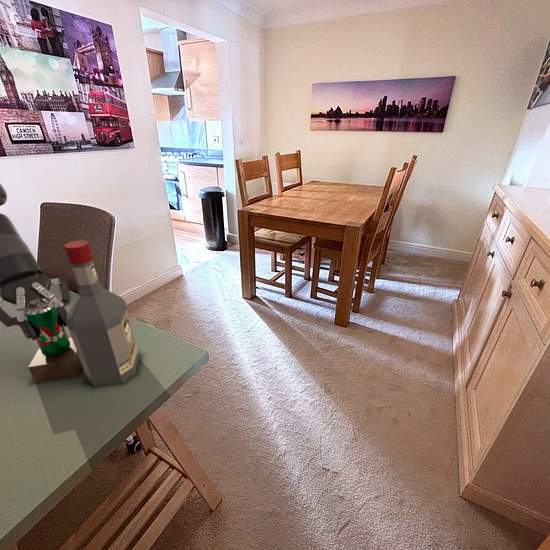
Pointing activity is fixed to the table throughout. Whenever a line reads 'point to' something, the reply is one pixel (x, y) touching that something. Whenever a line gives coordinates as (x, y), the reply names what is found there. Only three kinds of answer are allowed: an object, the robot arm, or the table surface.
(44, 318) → the soda can
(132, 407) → the table surface
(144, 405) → the table surface
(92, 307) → the liquor
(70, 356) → the stand
